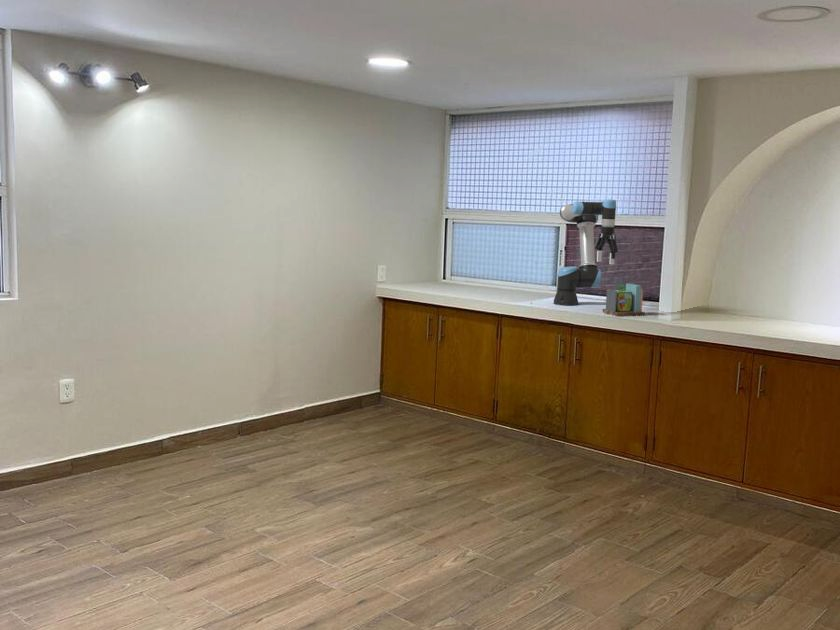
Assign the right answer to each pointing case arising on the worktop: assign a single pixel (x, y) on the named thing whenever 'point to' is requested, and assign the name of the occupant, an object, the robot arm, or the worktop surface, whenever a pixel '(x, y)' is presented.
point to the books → (635, 297)
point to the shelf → (624, 313)
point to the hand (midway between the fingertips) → (605, 263)
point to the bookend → (611, 300)
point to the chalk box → (623, 299)
